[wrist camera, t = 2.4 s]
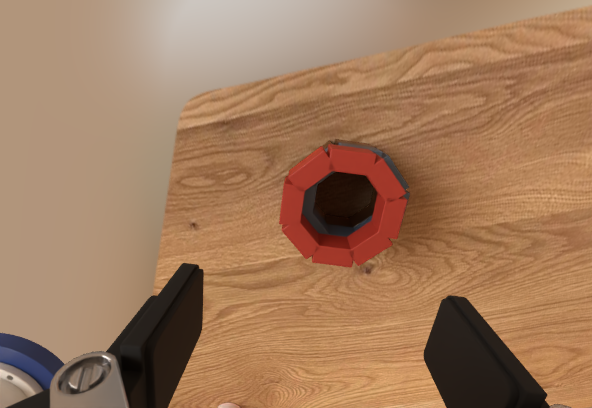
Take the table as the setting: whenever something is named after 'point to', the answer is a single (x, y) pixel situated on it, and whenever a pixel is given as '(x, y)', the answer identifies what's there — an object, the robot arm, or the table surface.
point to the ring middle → (337, 230)
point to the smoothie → (228, 405)
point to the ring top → (365, 238)
